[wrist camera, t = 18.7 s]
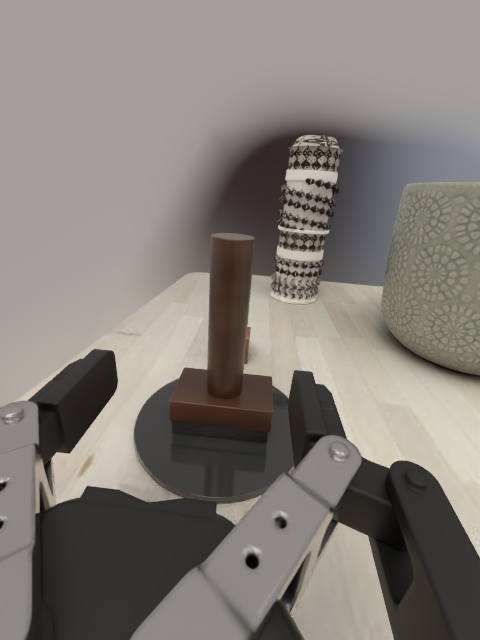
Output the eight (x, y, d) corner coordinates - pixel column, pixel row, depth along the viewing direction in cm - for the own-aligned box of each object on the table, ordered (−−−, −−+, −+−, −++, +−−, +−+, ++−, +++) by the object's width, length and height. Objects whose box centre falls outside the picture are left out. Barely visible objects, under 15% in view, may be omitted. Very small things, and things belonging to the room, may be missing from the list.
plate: (113, 512, 16) (112, 506, 16) (149, 376, 28) (149, 371, 28) (331, 494, 18) (333, 489, 18) (279, 373, 30) (280, 369, 29)
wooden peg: (268, 445, 21) (297, 247, 15) (169, 433, 21) (161, 235, 15) (267, 405, 24) (291, 236, 19) (184, 396, 25) (182, 227, 19)
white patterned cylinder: (324, 295, 55) (354, 143, 45) (309, 309, 47) (341, 130, 37) (280, 285, 59) (299, 143, 49) (260, 296, 51) (277, 132, 41)
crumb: (246, 363, 31) (249, 339, 30) (219, 360, 31) (220, 336, 30) (248, 349, 34) (250, 327, 33) (223, 347, 34) (224, 324, 33)
